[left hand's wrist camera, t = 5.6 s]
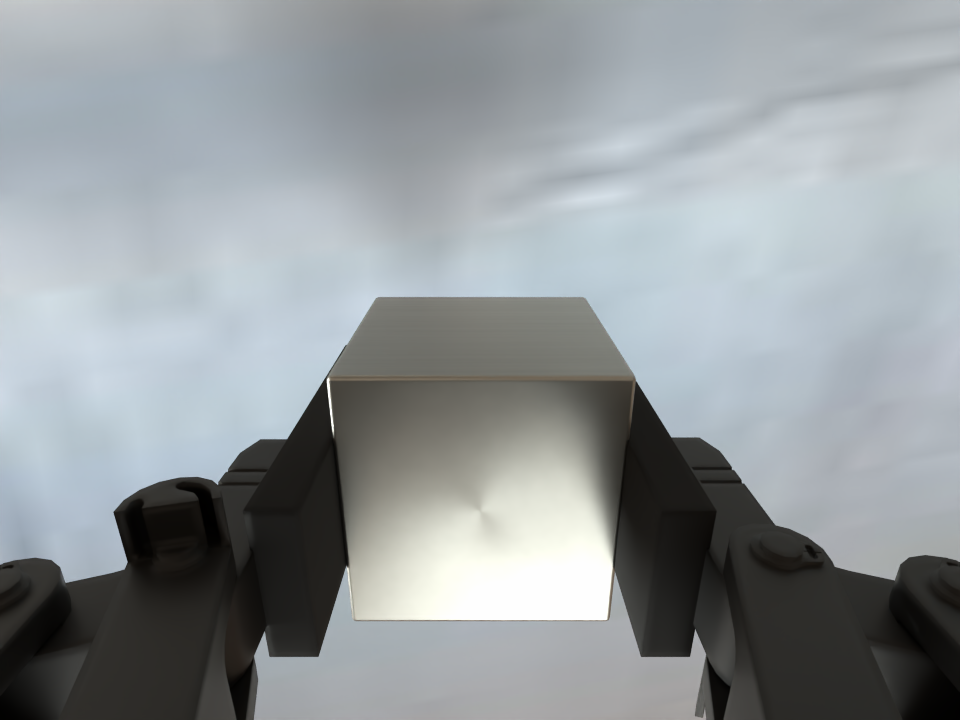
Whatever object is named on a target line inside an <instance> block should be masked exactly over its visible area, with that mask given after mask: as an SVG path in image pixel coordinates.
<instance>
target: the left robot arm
mask: <svg viewBox="0 0 960 720" xmlns="http://www.w3.org/2000/svg"><path fill="white" fill-rule="evenodd" d="M346 346H347V345H346ZM346 346H345V347H344V349H345V348H346ZM344 349H343V350H342V352H343V351H344ZM342 352H341V354H342ZM341 354H340V355H339V357H340V356H341ZM339 357H338V358H337V360H338V359H339ZM337 360H336V362H337ZM336 362H335V363H334V365H335V364H336ZM334 365H333V367H334ZM333 367H332V368H333ZM332 368H331V370H332ZM331 370H330V371H329V373H330V372H331ZM329 373H328V375H329ZM328 375H327V376H326V378H325V379H324V381H323V383H322V384H321V386H320V387H319V389H318V391H317V392H316V394H315V395H314V397H313V399H312V400H311V402H310V404H309V405H308V407H307V408H306V410H305V412H304V413H303V415H302V416H301V418H300V420H299V421H298V423H297V424H296V426H295V428H294V429H293V431H292V432H291V434H290V436H289V437H288V439H261V440H259V441H258V442H256V443H254V444H253V445H251V446H250V447H248V448H247V449H245V450H244V451H242V452H241V453H240V454H239V455H238V456H237V458H236V459H235V461H234V462H233V463H232V465H231V466H230V467H229V469H228V472H226V473H225V474H224V475H223V477H222V478H221V479H220V481H219V482H218V485H217V484H216V483H215V482H213V481H212V480H208V479H204V478H200V477H184V478H176V479H171V480H166V481H162V482H158V483H156V484H153V485H151V486H148V487H146V488H143V489H141V490H139V491H137V492H136V493H134V494H133V495H131V496H130V497H128V498H127V499H125V500H124V501H123V502H122V503H121V504H120V505H119V506H118V508H117V509H116V510H115V511H114V516H115V519H116V523H117V526H118V530H119V533H120V537H121V540H122V544H123V547H124V551H125V554H126V558H127V561H128V563H127V565H126V568H125V570H121V571H118V572H114V573H110V574H106V575H101V576H96V577H92V578H87V579H82V580H78V581H73V582H68V583H65V580H64V578H63V575H62V572H61V569H60V567H59V566H58V565H57V564H55V563H54V562H53V561H52V560H47V559H40V558H30V559H22V560H14V561H11V562H7V563H3V564H2V565H0V720H254V712H255V703H256V694H257V685H258V676H257V669H256V664H255V659H254V654H255V652H256V650H257V647H258V645H259V643H260V640H261V638H262V636H263V633H264V631H265V634H266V640H267V645H268V651H269V656H270V657H318V656H319V653H320V650H321V647H322V643H323V640H324V637H325V633H326V630H327V627H328V624H329V620H330V617H331V614H332V611H333V607H334V604H335V601H336V598H337V594H338V591H339V588H340V584H341V581H342V578H343V575H344V571H345V568H346V565H347V564H346V555H345V545H344V536H343V527H342V517H341V508H340V499H339V489H338V480H337V471H336V461H335V452H334V443H333V433H332V424H331V415H330V406H329V396H328V387H327V377H328ZM614 569H615V573H616V576H617V579H618V583H619V586H620V589H621V592H622V596H623V599H624V602H625V605H626V609H627V612H628V615H629V618H630V622H631V625H632V628H633V632H634V635H635V638H636V641H637V645H638V648H639V651H640V654H641V657H690V654H691V648H692V643H693V638H694V632H695V629H696V631H697V634H698V636H699V638H700V641H701V643H702V645H703V648H704V650H705V652H706V659H705V664H704V669H703V674H702V679H701V684H700V689H699V694H698V699H697V704H696V711H695V716H697V717H701V718H703V714H704V709H705V711H706V720H960V562H958V561H956V560H952V559H948V558H943V557H935V556H928V555H923V556H916V557H909V558H908V559H907V560H905V561H904V562H903V563H902V564H901V565H900V567H899V570H898V573H897V576H896V579H895V581H894V580H889V579H885V578H880V577H875V576H871V575H866V574H861V573H857V572H852V571H848V570H844V569H840V568H837V567H834V564H833V562H832V561H831V559H830V558H829V556H828V555H827V554H826V552H825V551H824V550H823V549H822V548H821V547H820V546H818V545H817V544H816V543H814V542H813V541H812V540H810V539H809V538H808V537H806V536H803V535H801V534H799V533H797V532H795V531H793V530H790V529H788V528H784V527H780V526H776V525H775V524H774V523H773V522H772V520H771V519H770V518H769V516H768V515H767V514H766V512H765V511H764V510H763V508H762V507H761V506H760V504H759V503H758V502H757V500H756V499H755V498H754V496H753V495H752V494H751V492H750V491H749V490H748V488H747V487H746V485H745V484H742V480H741V479H740V477H739V476H738V475H737V473H736V472H735V471H734V470H732V467H731V465H730V464H729V463H728V461H727V460H726V459H725V457H724V456H723V455H722V453H721V452H720V451H719V450H717V449H716V448H714V447H713V446H711V445H710V444H708V443H707V442H705V441H704V440H702V439H701V438H671V436H670V435H669V433H668V432H667V430H666V428H665V427H664V425H663V424H662V422H661V420H660V419H659V417H658V415H657V414H656V412H655V411H654V409H653V407H652V406H651V404H650V403H649V401H648V399H647V398H646V396H645V395H644V393H643V391H642V390H641V388H640V387H639V385H638V383H637V382H636V383H635V392H634V401H633V410H632V419H631V428H630V437H629V440H628V444H627V454H626V463H625V472H624V481H623V490H622V500H621V509H620V518H619V527H618V537H617V546H616V555H615V564H614Z"/></svg>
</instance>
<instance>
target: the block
mask: <svg viewBox="0 0 960 720" xmlns="http://www.w3.org/2000/svg"><path fill="white" fill-rule="evenodd" d="M635 383H636V378H635V376H634V374H633V373H632V371H631V369H630V368H629V366H628V365H627V363H626V361H625V360H624V358H623V357H622V355H621V354H620V352H619V350H618V349H617V347H616V346H615V344H614V343H613V341H612V339H611V338H610V336H609V335H608V333H607V332H606V330H605V328H604V327H603V325H602V324H601V322H600V321H599V319H598V317H597V316H596V314H595V313H594V311H593V310H592V308H591V306H590V305H589V303H588V302H587V300H586V299H585V298H583V297H378V298H376V299H375V301H374V302H373V304H372V306H371V307H370V309H369V310H368V312H367V314H366V315H365V317H364V319H363V320H362V322H361V323H360V325H359V327H358V328H357V330H356V331H355V333H354V335H353V336H352V338H351V339H350V341H349V343H348V344H347V346H346V348H345V349H344V351H343V352H342V354H341V356H340V357H339V359H338V360H337V362H336V364H335V365H334V367H333V368H332V370H331V372H330V373H329V375H328V377H327V387H328V396H329V406H330V415H331V424H332V433H333V443H334V452H335V461H336V471H337V480H338V489H339V499H340V508H341V517H342V527H343V536H344V545H345V555H346V564H347V573H348V583H349V592H350V601H351V611H352V618H353V620H355V621H607V620H609V617H610V610H611V601H612V592H613V583H614V574H615V569H614V564H615V555H616V546H617V537H618V527H619V518H620V509H621V500H622V490H623V481H624V472H625V463H626V454H627V444H628V440H629V437H630V428H631V419H632V410H633V401H634V392H635Z"/></svg>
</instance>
